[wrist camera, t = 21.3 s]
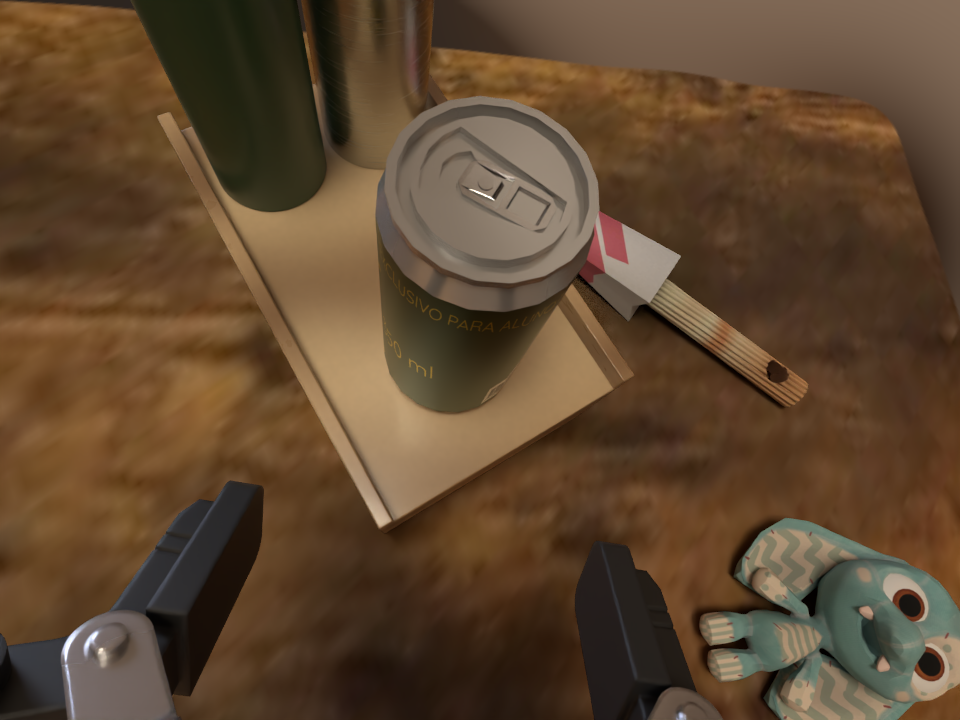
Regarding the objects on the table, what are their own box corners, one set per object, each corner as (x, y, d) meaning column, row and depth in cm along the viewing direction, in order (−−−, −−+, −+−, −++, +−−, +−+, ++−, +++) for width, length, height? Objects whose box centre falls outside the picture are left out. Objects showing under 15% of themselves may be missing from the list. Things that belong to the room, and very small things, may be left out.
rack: (214, 219, 32) (-18, -195, 14) (400, 145, 35) (405, -267, 17) (383, 534, 28) (361, 515, 10) (576, 417, 31) (815, 246, 13)
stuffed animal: (706, 533, 25) (978, 496, 25) (663, 532, 32) (876, 503, 31) (776, 824, 22) (1088, 782, 21) (711, 753, 28) (947, 721, 28)
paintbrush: (547, 154, 33) (825, 365, 32) (534, 182, 35) (792, 377, 35) (509, 197, 31) (799, 417, 31) (498, 222, 34) (766, 426, 33)
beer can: (531, 334, 25) (643, 157, 13) (474, 440, 23) (548, 337, 12) (425, 275, 25) (448, 53, 14) (359, 376, 23) (324, 215, 12)
